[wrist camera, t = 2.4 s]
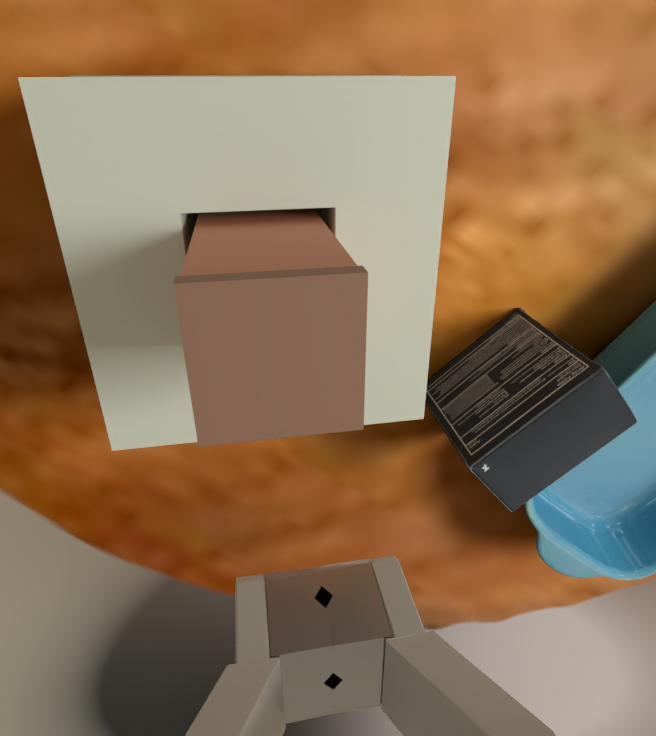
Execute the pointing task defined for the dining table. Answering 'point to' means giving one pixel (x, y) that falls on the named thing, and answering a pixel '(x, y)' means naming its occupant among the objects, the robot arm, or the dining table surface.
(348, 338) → the plunger
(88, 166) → the housing
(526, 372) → the small box
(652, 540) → the casserole dish
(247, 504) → the dining table surface
